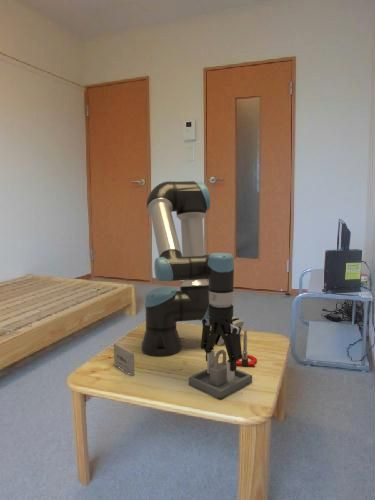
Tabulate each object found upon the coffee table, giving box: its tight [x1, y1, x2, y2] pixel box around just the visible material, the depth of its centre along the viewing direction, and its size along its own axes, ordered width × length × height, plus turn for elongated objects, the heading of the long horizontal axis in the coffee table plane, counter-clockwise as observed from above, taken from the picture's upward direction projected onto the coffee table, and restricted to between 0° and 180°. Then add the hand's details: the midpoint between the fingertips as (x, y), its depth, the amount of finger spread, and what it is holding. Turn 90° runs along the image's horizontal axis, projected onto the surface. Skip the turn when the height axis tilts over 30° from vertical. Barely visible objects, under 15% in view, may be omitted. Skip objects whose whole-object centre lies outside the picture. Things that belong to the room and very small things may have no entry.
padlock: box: [210, 349, 227, 386], centre depth 123 cm, size 7×4×10 cm, turn 138°
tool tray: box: [188, 368, 253, 401], centre depth 123 cm, size 13×15×2 cm
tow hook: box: [236, 329, 258, 368], centre depth 140 cm, size 8×13×9 cm
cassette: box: [113, 342, 135, 376], centre depth 134 cm, size 12×2×8 cm, turn 39°
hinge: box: [215, 316, 244, 347], centre depth 162 cm, size 17×5×10 cm, turn 144°
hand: (220, 375), depth 123 cm, fingers open, 7 cm apart
